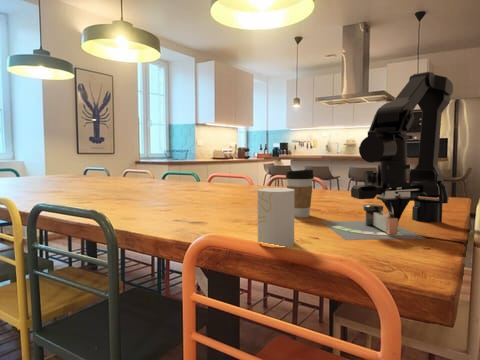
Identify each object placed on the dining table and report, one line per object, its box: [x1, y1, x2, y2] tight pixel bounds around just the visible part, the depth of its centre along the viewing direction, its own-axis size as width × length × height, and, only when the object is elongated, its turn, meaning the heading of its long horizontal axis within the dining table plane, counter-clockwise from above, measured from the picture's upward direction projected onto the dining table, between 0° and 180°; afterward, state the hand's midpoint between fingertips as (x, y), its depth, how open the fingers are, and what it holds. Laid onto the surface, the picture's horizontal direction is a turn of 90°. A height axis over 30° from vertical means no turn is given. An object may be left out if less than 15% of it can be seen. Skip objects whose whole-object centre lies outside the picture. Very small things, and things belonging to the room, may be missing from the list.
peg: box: [363, 203, 399, 234], centre depth 84 cm, size 15×5×5 cm, turn 179°
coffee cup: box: [285, 169, 315, 218], centre depth 104 cm, size 8×8×15 cm
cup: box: [256, 187, 295, 248], centre depth 76 cm, size 8×8×12 cm
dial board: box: [321, 220, 427, 241], centre depth 85 cm, size 18×20×1 cm
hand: (394, 226), depth 81 cm, fingers closed
